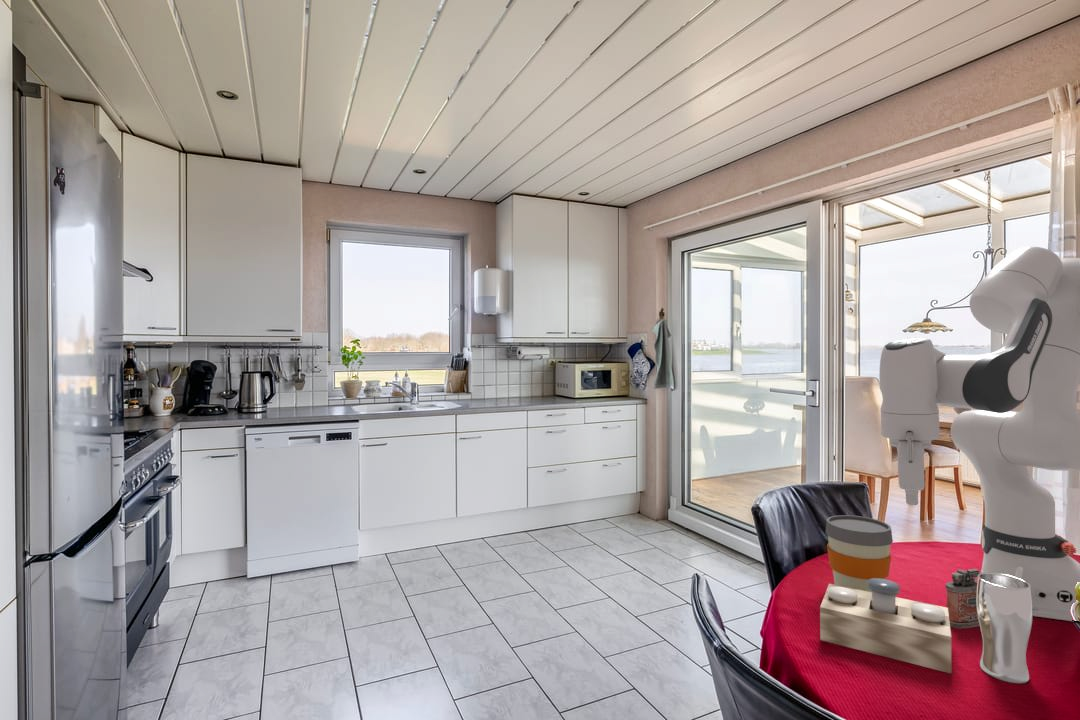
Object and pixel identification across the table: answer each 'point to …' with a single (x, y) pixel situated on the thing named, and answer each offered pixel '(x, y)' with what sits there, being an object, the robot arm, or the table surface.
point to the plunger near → (928, 613)
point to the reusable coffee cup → (858, 550)
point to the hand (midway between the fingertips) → (912, 502)
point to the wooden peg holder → (887, 631)
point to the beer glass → (1004, 625)
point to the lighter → (962, 599)
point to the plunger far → (842, 595)
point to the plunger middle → (883, 595)
